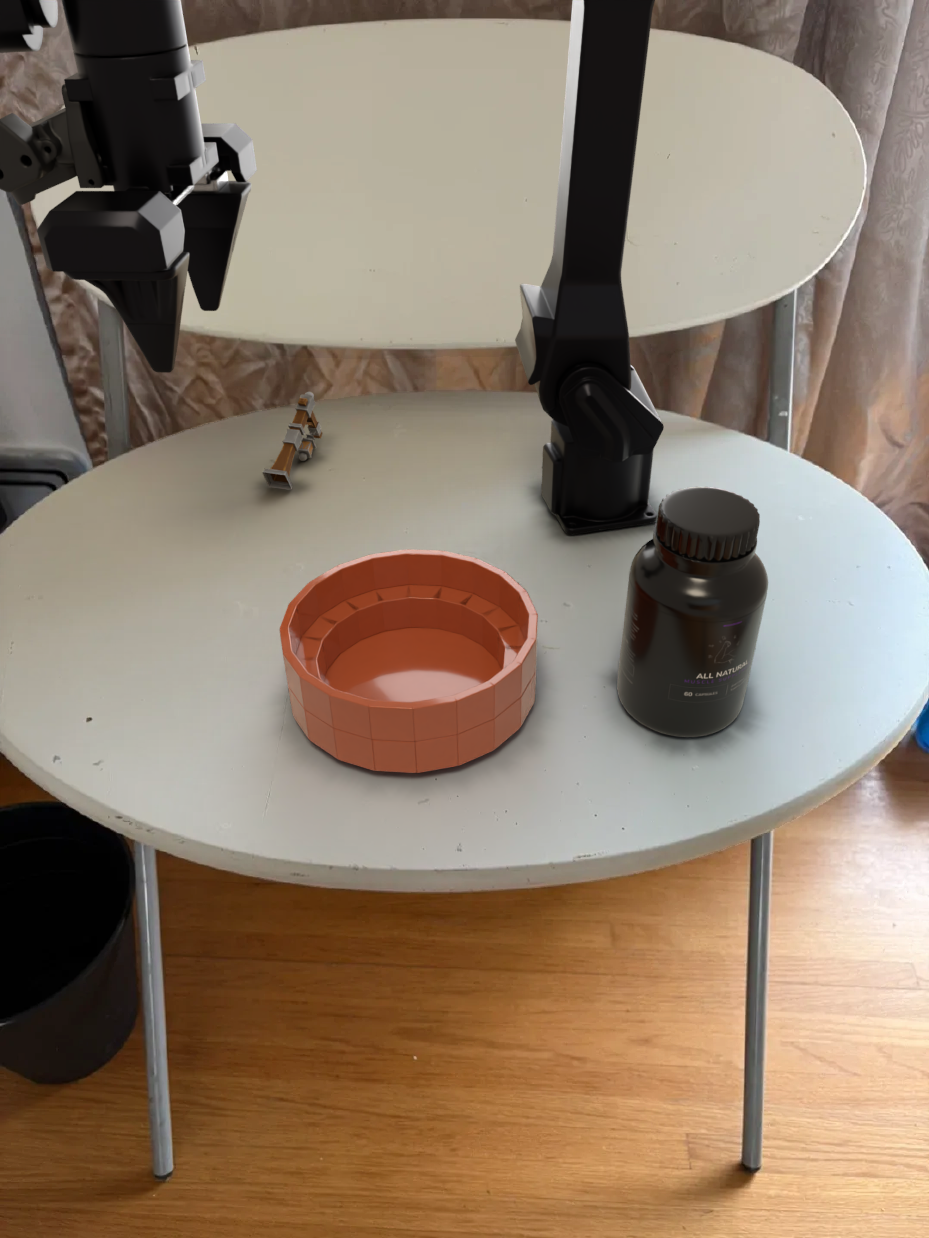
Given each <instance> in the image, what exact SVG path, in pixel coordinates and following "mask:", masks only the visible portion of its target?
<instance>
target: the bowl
mask: <svg viewBox="0 0 929 1238" xmlns="http://www.w3.org/2000/svg"><path fill="white" fill-rule="evenodd" d="M538 625H539V613H538V612H537V610H536V607H535V605H534V603H533V601H532V598H531V597H530V594H529V592H528V591H527V589H526V588H525V587H523V586H522V585H521V584H520V583H519V582H518V581H517V580H515V579H514V578H513V577H512V576H511V575H510V574H509V573H508V572H506V571H505V570H502V569H501V568H498V567H496V566H494V565H492V564H490V563H489V562H485V561H484V560H482V559H479V558H477V557H473V556H468V555H465V554H460V553H456V552H451V551H447V550H441V549H439V550H438V549H436V550H435V549H412V548H406V549H398V550H391V551H384V552H377V553H371V554H367V555H364V556H361V557H358V558H355V559H352V560H348V561H346V562H343V563H341V564H337V565H335V566H333V567H332V568H330V569H328V570H327V571H324V572H323V573H322V574H320V575H319V576H317V577H314V579H312V580H310V581H309V582H307V583H306V584H305V586H304V587H303V588H302V589H301V590H300V591H299V592H298V593H297V595H296V596H294V598H292V600H290V601H289V603H288V604H287V608H286V610H285V612H284V615H283V618H282V620H281V623H280V626H279V637H280V644H281V651H282V657H283V664H284V670H285V676H286V682H287V686H288V695H289V700H290V707H291V713H292V717H293V719H294V720H295V722H296V724H298V726H299V728H300V729H301V730H302V731H303V734H304V735H305V736H306V738H307V739H308V741H310V742H311V743H312V744H314V745H315V746H317V747H319V748H320V749H322V750H323V751H324V752H326V753H327V754H329V755H331V756H332V757H333V758H335V759H337V760H338V761H341V762H345V763H347V764H351V765H354V766H356V767H361V768H364V769H367V770H370V771H374V772H375V771H376V772H391V773H406V774H409V773H410V774H416V773H417V774H419V773H425V772H431V771H436V770H442V769H443V770H444V769H448V768H453V767H459V766H462V765H464V764H466V763H469V762H471V761H473V760H476V759H478V758H480V757H482V756H484V755H486V754H490V753H491V752H494V751H495V750H496V749H497V748H499V747H500V746H501V745H502V744H503V743H504V742H506V741H507V740H508V739H510V737H512V736H513V735H514V734H515V733H516V732H517V731H519V730H520V729H521V727H522V725H523V724H524V722H525V721H526V718H527V716H528V715H529V713H530V711H531V710H532V707H533V706H534V704H535V702H536V688H537V687H536V685H537V684H536V683H537V662H538V661H537V660H538V631H539V630H538V629H539V628H538V627H539V626H538Z"/></svg>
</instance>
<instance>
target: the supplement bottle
mask: <svg viewBox="0 0 929 1238" xmlns="http://www.w3.org/2000/svg"><path fill="white" fill-rule="evenodd" d="M760 516H761V515H760V513H759V510H758V508H757V507H756V506H755V504H754V503H752V502H751V501H750V500H749V499H748V498H745V497H744V496H743V495H742V494H737V493H736V492H735V491H730V490H727V489H724V488H718V487H715V486H714V487H710V486H693V487H690V486H687V487H685V488H678V489H677V490H672V491H671V492H670V493H668V494H666V495H665V497H663V498H661V502H659V505H658V509H657V520H656V522H655V523H654V528H653V534H652V538H651V539H649V540H648V541H647V542H645V543H644V544H643V545H642V546H641V547H640V548H639V549H638V551H637V552H636V553H635V555H634V557H633V558H632V561H631V566H630V569H629V574H628V575H629V576H628V583H627V592H626V600H625V608H624V609H625V610H624V618H623V625H622V626H623V627H622V636H621V642H620V643H621V644H620V651H619V661H618V671H617V679H616V680H617V681H616V688H617V689H616V691H617V695H618V698H619V701H620V703H621V705H622V706H623V708H624V709H625V711H626V712H627V713H628V714H629V715H630V716H631V717H632V718H633V719H634V720H635V721H637V722H638V723H639V724H641V725H643V726H644V727H646V728H648V729H649V730H651V731H652V730H653V731H655V732H657V733H660V734H663V735H667V736H672V737H680V738H698V737H699V738H700V737H705V736H708V735H712V734H715V733H717V732H719V731H721V730H724V729H725V728H727V727H728V726H730V725H731V724H732V723H733V722H734V721H735V720H736V719H737V718H738V716H739V714H740V712H741V711H742V708H743V705H744V701H745V697H746V692H747V688H748V685H749V679H750V675H751V671H752V670H751V669H752V666H753V661H754V656H755V652H756V647H757V642H758V637H759V633H760V628H761V624H762V619H763V616H764V615H763V614H764V609H765V605H766V600H767V596H768V590H769V576H768V571H767V569H766V566H765V565H764V563H763V561H762V559H761V558H760V557H759V556H758V554H757V553H756V550H757V547H758V546H757V545H758V534H759V529H760V525H761V524H760V523H761V521H760V520H761V519H760V518H761V517H760Z"/></svg>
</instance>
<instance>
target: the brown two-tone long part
mask: <svg viewBox="0 0 929 1238" xmlns="http://www.w3.org/2000/svg"><path fill="white" fill-rule="evenodd" d="M299 396H300V397H299V399H298V401H297V405H296V406H295V408H294V409H295V411H296V412H295V415H294V418H293V420H292V422H289V423H288V428H286V433H285V436H284V438H283V440H282V448H281V449H280V452H279V453H278V455H277V457H276V459H275V461H274V462H273V464H272V466H271V467H270V468H264V469H263V471H261V473H262V475H263V478H264V480H265V482H266V484H267V485H268V487H269V488H274V489H280V490H281V489H282V490H289V491H292V490H293V489H292V488H293V486H294V484H293V482H292V480H291V477H290V474H291V471H292V470H291V469H292V465H293V461H294V457H295V454H296V452H297V453H298V459H299V460H300V461H301V462H305V461H306V460H307V459H312V454H313V450H314V449H317V444H316V443H315V441H316V439H319V440H320V439H322V437H323V432H322V431H323V430H322V426H321V424H320V422H319V421H318V420H317V417H316V415H315V413H314V408H315V406H316V401H315V399H314V398H315V397H314V396H315V395H314V393H313V392H312V391H307V392H305V393H304V394H300V395H299ZM306 426H307V429H308V432H309V433H308V434H305V433H306V431H305V427H306ZM303 436H306V437H303Z"/></svg>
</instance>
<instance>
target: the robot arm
mask: <svg viewBox="0 0 929 1238" xmlns="http://www.w3.org/2000/svg"><path fill="white" fill-rule="evenodd" d="M571 2H572V4H571V16H570V26H569V27H570V29H569V39H568V40H569V41H568V54H567V67H566V79H565V90H564V91H565V93H564V103H563V104H564V106H563V119H562V130H561V144H560V155H559V156H560V158H559V169H558V181H557V182H558V183H557V195H556V208H555V219H554V220H555V221H554V231H553V232H554V233H553V245H552V255H551V260H550V263H549V266H548V268H547V271H546V273H545V274H544V278H543V280H542V282H541V285H534V284H529V283H521V284H519V294H520V295H519V297H520V303H521V304H520V305H521V322H520V328H519V330H518V332H517V334H516V336H515V338H514V341H515V345H516V348H517V351H518V354H519V358H520V362H521V364H522V367H523V371H524V374H525V377H526V380H527V383H528V385H530V386H533V385H534V388H535V390H536V393H537V397H538V400H539V403H540V406H541V408H542V410H543V412H545V413H546V414H547V415H548V416H549V417H550V418H551V419H552V420H551V422H550V429H551V430H550V442H545V443H544V445H543V446H542V461H541V462H542V465H541V467H542V468H541V486H540V489H541V497H542V498H543V500H544V502H545V504H546V507H548V509H549V511H550V513H551V514H553V515H554V516H555V518H556V520H557V521H558V523H559V524H560V526H561V528H562V530H563V531H564V533H565V534H568V535H578V534H586V533H593V532H599V531H605V530H607V531H608V530H612V529H622V528H628V527H637V526H641V525H642V526H643V525H648V524H649V525H650V524H655V523H656V522H657V516H658V512H656V511H655V509H654V507H653V506H652V505H651V503H650V502H649V499H650V488H651V477H652V468H653V461H654V460H653V459H654V451H655V447H656V445H657V443H658V441H659V439H660V437H661V435H662V433H663V431H664V429H665V428H664V427H665V426H664V423H663V421H662V419H661V417H660V415H659V413H658V412H657V410H656V408H655V406H654V403H653V402H652V399H651V398H650V396H649V394H648V391H647V390H646V388H645V386H644V384H643V382H642V380H641V378H640V376H639V375H638V373H637V371H636V369H635V367H634V366H633V365H631V364H632V363H631V345H630V334H629V333H630V332H629V326H628V318H627V312H626V311H627V310H626V305H625V298H624V290H623V283H622V269H623V262H624V261H623V260H624V252H625V245H626V236H627V227H628V219H629V210H630V201H631V192H632V185H633V176H634V168H635V160H636V159H635V158H636V151H637V143H638V136H639V135H638V134H639V128H640V127H639V125H640V117H641V110H642V100H643V92H644V84H645V75H646V68H647V59H648V50H649V42H650V34H651V24H652V17H653V10H654V6H655V2H656V0H572V1H571ZM61 4H62V8H63V13H64V18H65V22H66V26H67V30H68V31H67V32H68V34H69V39H70V44H71V48H72V53H73V57H74V61H75V65H76V70H77V72H76V73H73V74H72V75H70V76H68V77H66V78H64V79H63V82H64V83H63V84H62V85H61V96H62V100H63V104H64V108H61V109H59V110H57V111H54V112H52V113H50V114H48V115H46V116H44V117H42V118H39V119H37V120H35V121H33V122H31V123H29V124H28V123H27V122H26V121H24V120H23V119H22V118H21V117H20V116H18V115H17V114H16V113H13V112H11V113H9V114H7V115H5V116H3V117H1V118H0V190H1V191H3V192H5V193H10V194H11V196H12V197H13V199H14V201H15V202H16V204H17V206H23V205H26V204H28V203H30V202H33V201H34V200H35V199H36V197H37V195H39V194H40V193H43V192H45V191H48V190H50V189H52V188H54V187H56V186H59V185H61V184H64V183H66V182H68V181H70V180H72V179H75V178H76V177H77V182H78V185H79V189H102V188H104V187H105V186H106V187H112V188H113V190H75V191H74V192H73V193H71V194H70V195H68V196H67V197H66V198H65V199H64V200H62V201H61V202H59V203H58V204H57V205H56V206H54V207H53V208H51V209H50V210H49V211H48V213H47V214H46V215H45V217H44V218H43V220H41V222H40V225H39V226H38V227H37V229H36V233H37V237H38V240H39V245H40V248H41V253H42V255H43V259H44V262H45V266H46V269H48V270H50V271H51V272H55V273H56V272H59V273H60V272H61V273H62V272H63V274H64V275H65V276H67V277H68V278H69V279H71V280H75V281H85V282H87V283H88V284H90V285H92V286H94V287H95V288H97V289H98V290H100V291H101V292H102V293H103V294H104V295H105V296H106V297H107V299H108V301H110V303H111V304H112V305H113V307H114V309H115V310H116V311H117V313H118V314H119V316H120V318H121V319H122V321H123V323H124V324H125V326H126V327H127V329H128V331H129V333H130V334H131V336H132V338H133V340H134V341H135V343H136V344H137V346H138V348H139V350H140V351H141V353H142V355H143V356H144V358H145V359H146V361H147V363H148V365H149V367H150V368H151V369H152V371H153V372H154V373H165V374H167V373H172V372H173V370H174V369H175V363H176V358H177V352H178V345H179V338H180V330H181V323H182V322H181V321H182V316H183V315H182V314H183V307H184V300H185V292H186V291H185V290H186V286H187V278H188V276H189V279H190V283H191V286H192V288H193V292H194V294H195V297H196V300H197V303H198V306H199V308H200V309H201V310H202V311H204V312H216V311H218V310H219V308H220V305H221V302H222V297H223V293H224V289H225V286H226V281H227V277H228V273H229V269H230V265H231V261H232V257H233V253H234V249H235V246H236V242H237V238H238V234H239V231H240V227H241V224H242V220H243V216H244V212H245V208H246V205H247V201H248V198H249V195H250V193H251V191H252V182H251V181H249V180H250V179H251V178H252V176H254V175H255V173H256V172H257V171H258V168H257V162H256V156H255V150H254V149H255V147H254V140H253V138H252V137H251V136H249V135H248V134H247V132H245V130H243V129H242V128H241V127H240V126H239V125H238V124H237V123H236V122H235V123H234V122H233V123H217V122H216V123H202V120H201V115H200V110H199V109H200V108H199V103H198V98H197V92H196V88H198V87H199V86H201V85H202V84H204V83H205V82H207V80H206V73H205V67H204V61H203V59H191V55H190V50H189V43H188V38H187V32H186V25H185V19H184V15H183V14H184V12H183V6H182V0H61ZM58 5H59V4H58V0H0V54H7V53H8V54H9V53H28V52H30V53H31V52H38V51H40V49H41V47H42V45H43V39H44V38H43V37H44V29H48V28H49V29H51V28H52V29H53V28H56V27H57V25H58V21H59V6H58ZM228 172H231V174H232V176H233V178H234V180H229V176H228V175H229V174H228Z"/></svg>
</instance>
